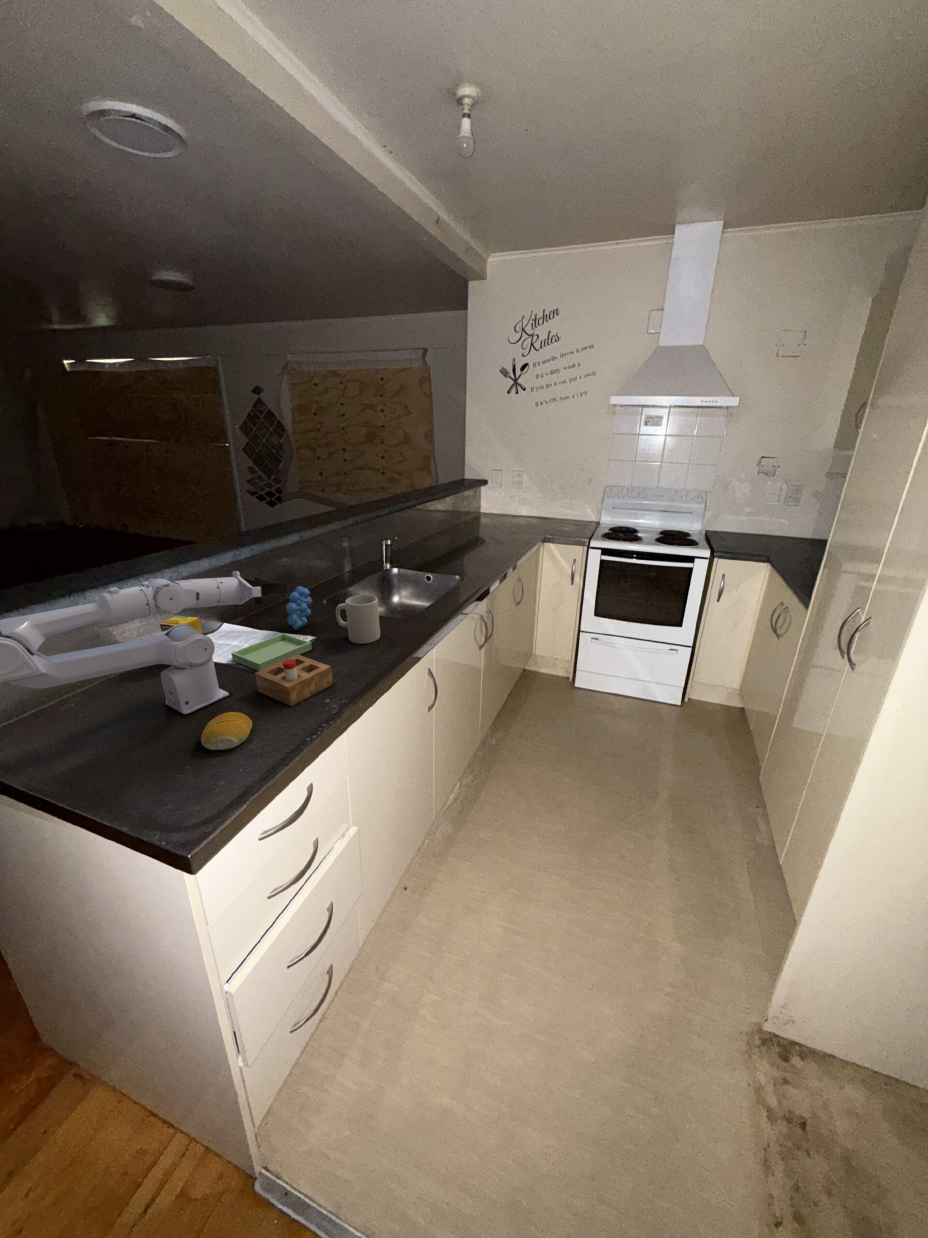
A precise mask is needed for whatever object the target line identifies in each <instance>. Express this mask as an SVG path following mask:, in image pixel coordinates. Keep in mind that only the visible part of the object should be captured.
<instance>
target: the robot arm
mask: <svg viewBox="0 0 928 1238" xmlns="http://www.w3.org/2000/svg"><path fill="white" fill-rule="evenodd" d="M231 574H232V576H227V577H224V576H223V577H208V578H190V579H189V578H188V579H186V580H185V579H181V580H173V581H170V580H168V579H165V578H150V579H148V580H147V581H144V582H140V584H139V585H135V586H131V587H126V588H122V589H120V588H118V587H117V586H115V587H109V588H108V592H104V593H101V594H100V595H99V597H97V599H96V600H95V601H94V602H91V603H85V604H80V605H74V606H69V607H63V608H58V609H51V610H47V611H42V612H37V613H32V614H26V615H19V616H14V617H8V618H3V619H0V684H8V685H15V686H19V687H24V688H30V689H36V690H43V689H48V688H53V687H57V686H62V685H66V684H67V685H68V684H71V683H76V682H80V681H81V682H82V681H85V680H90V679H94V678H99V677H104V676H108V675H114V674H118V673H122V672H127V671H131V670H137V669H140V668H146V667H150V666H154V665H155V666H156V665H166V666H167V665H169V667H167V668H165V669H164V670H162V671H161V672H160V681H161V686H162V689H163V693H164V698H165V700H166V701H165V705H166V706H168V707H170V708H172V709H174V710H175V711H177V712H179V713H181V714H183V715H188V714H191V713H193V712H196V711H197V710H199V709H201V708H204V707H206V706H208V705H210V704H212V703H215V702H217V701H220V700H222V699H223V698H226V697H228V696H230V693H229V692H228V691H226V690H223V689H222V688H220V687H219V682H218V681H219V680H218V677H217V672H216V669H215V668H216V667H215V663H214V659H213V658H214V657H213V656H214V653H215V643H214V641H213V640H212V638H210V636H208V635H205V634H203V633H202V634H201V633H200V632H198V631H196V630H195V629H194V628H193V627H191V626H189V625H186V624H179V625H176V626H173V627H172V628H170V629H169V630H167V631H164V632H161V631H160V632H157V633H154V635H152V636H151V637H148V638H141V639H137V640H131V641H125V642H120V643H114V644H107V645H103V646H98V647H97V646H96V647H92V648H86V649H81V650H75V651H70V652H64V653H59V654H52V655H45V654H43V653H41V652H40V651H37V650H38V649H39V648H40V647H41V645H42V644H43V643H44V642H45V640H46V639H47V638H48V637H50V636H53V635H57V634H60V633H64V632H67V631H71V630H74V629H78V628H81V627H84V626H88V625H91V624H95V623H99V622H102V621H103V622H106V623H107V624H111V625H118V624H122V623H125V622H129V621H132V620H137V619H141V618H145V617H148V616H153V615H155V614H156V613H159V612H161V613H164V614H170V615H175V614H177V613H179V612H181V611H182V610H183V609H199V608H207V607H220V606H229V605H243V604H245V603H246V602H247V601H249V600H250V599H252V598H253V599H254V604H255V605H263V604H264V603H265V602H268V600H270V599H273V598H275V597H279V596H282V595H285V594H287V591H288V590H287V583H285V582H278V581H277V582H276V581H269V580H265V579H263V578H261V577H257V576H255V577H254V579H249V578H245V577H242V576H241V574H240V571H238V570H233V571H232V573H231Z"/></svg>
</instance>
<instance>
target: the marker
mask: <svg viewBox="0 0 928 1238" xmlns="http://www.w3.org/2000/svg"><path fill="white" fill-rule="evenodd" d="M283 668H284V672H285V679H286V681H289V682H291V681H293V680H295V679H297V678H298V677H297V670H296V661H295V660H293V659H289V660H285V661H284V662H283Z"/></svg>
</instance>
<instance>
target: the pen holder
mask: <svg viewBox="0 0 928 1238" xmlns="http://www.w3.org/2000/svg"><path fill="white" fill-rule="evenodd" d="M289 659H293V660H295V661H296V670H297V677H298V678H297V679H295V680H293V681H291V682H289V681H286V679H285V672H284V668H283V662H284V661H285V660H284V661H281V662H279V663H277V664H275V665H272V666H270V667H268V668H265V669H263V670H261V671H256V672H255V673H254V676H255V682H256V687H257V692H259V693H261V694H263V695H265V696H267V697H270V698H272V699H274V700H276V701H278V702H280V703H282V704H285V705H287V706H289V707H293V706H295V705H297V704H299V703H300V702H302V701H304V700H306V699H308V698H310V697H312V696H313V695H316V694H317V693H319V692H321V691H323V690H325V689H327V688H329V687H330V686H333V685H334V680H333V672H332V666H331V665H329V664H325V663H323V662H320V661H317V660H315V659H311V658H309V657H306V656H303V655H302V654H300V655H295V656H293V657H291V658H288V659H286V660H289Z"/></svg>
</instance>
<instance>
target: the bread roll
mask: <svg viewBox="0 0 928 1238" xmlns="http://www.w3.org/2000/svg"><path fill="white" fill-rule="evenodd" d="M252 728H253V721H252V720H251V718H250V717H249V716H248V715H246V714H245V713H242V712H239V711H229V712H224V713H221V714H219V715H217V716H215V717H214V718H212V720H209V721H208V723H207V724H206V725H205V727H204V728H203V731H202V733H201V736H200V742H201V745H202V746H203V748H205V749H206V750H211V751H224V750H230V749H233V748H237V747H238V746H239V745H242V743H244V742H246V740H247V739H248V737H249V735H250V733H251V730H252Z"/></svg>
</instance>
